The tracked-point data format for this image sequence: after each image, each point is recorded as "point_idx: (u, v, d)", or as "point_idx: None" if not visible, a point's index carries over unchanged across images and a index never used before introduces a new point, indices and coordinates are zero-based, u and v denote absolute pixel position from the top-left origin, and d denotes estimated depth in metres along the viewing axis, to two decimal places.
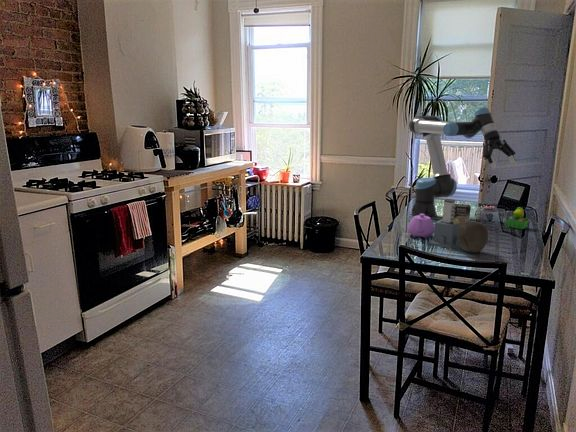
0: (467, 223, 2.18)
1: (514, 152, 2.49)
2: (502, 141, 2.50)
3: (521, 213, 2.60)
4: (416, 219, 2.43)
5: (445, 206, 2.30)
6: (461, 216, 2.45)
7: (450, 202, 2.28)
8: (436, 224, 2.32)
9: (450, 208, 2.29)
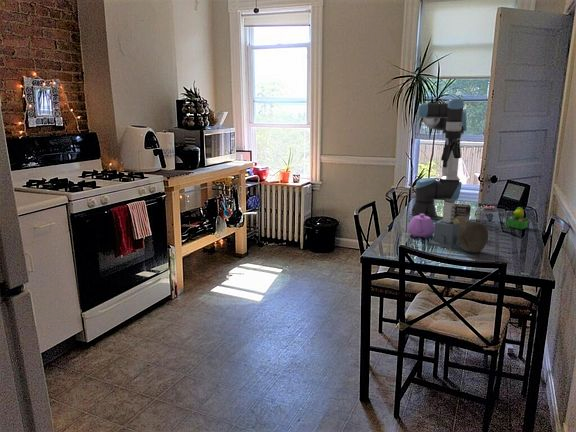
0: (467, 223, 2.18)
1: (460, 155, 2.42)
2: (457, 140, 2.37)
3: (521, 213, 2.60)
4: (416, 219, 2.43)
5: (445, 206, 2.30)
6: (461, 216, 2.45)
7: (450, 202, 2.28)
8: (436, 224, 2.32)
9: (450, 208, 2.29)
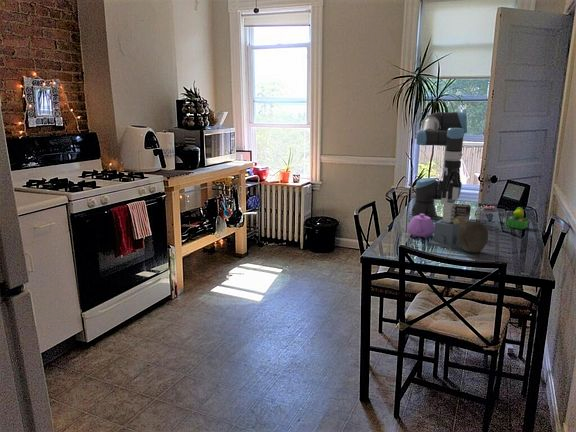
0: (467, 223, 2.18)
1: (460, 183, 2.34)
2: (457, 170, 2.30)
3: (521, 213, 2.60)
4: (416, 219, 2.43)
5: (445, 206, 2.30)
6: (461, 216, 2.45)
7: (450, 202, 2.28)
8: (436, 224, 2.32)
9: (450, 208, 2.29)
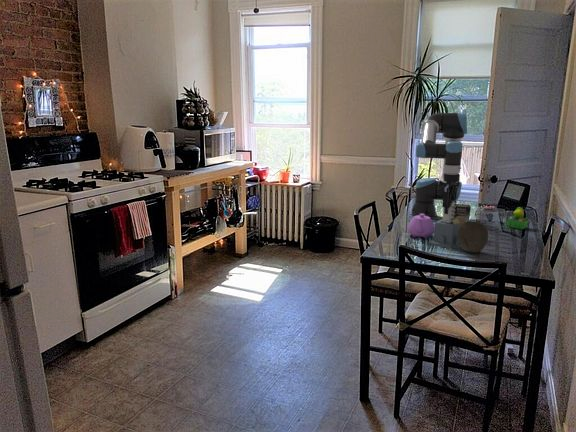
0: (467, 223, 2.18)
1: (455, 202, 2.33)
2: (455, 185, 2.32)
3: (521, 213, 2.60)
4: (416, 219, 2.43)
5: None
6: (461, 216, 2.45)
7: (450, 202, 2.28)
8: (436, 224, 2.32)
9: (450, 208, 2.29)
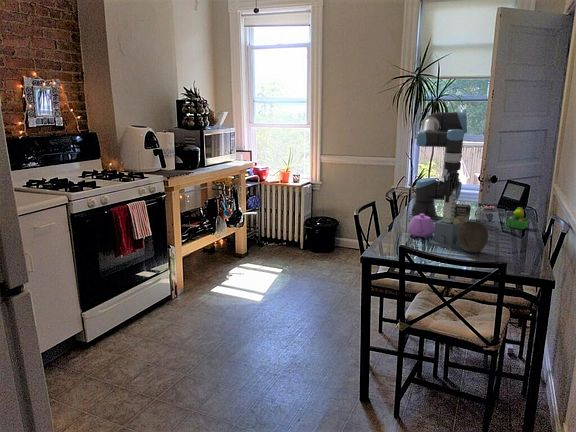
0: (467, 223, 2.18)
1: (456, 190, 2.32)
2: (456, 173, 2.30)
3: (521, 213, 2.60)
4: (416, 219, 2.43)
5: None
6: (461, 216, 2.45)
7: (451, 190, 2.26)
8: (436, 224, 2.32)
9: (451, 196, 2.27)
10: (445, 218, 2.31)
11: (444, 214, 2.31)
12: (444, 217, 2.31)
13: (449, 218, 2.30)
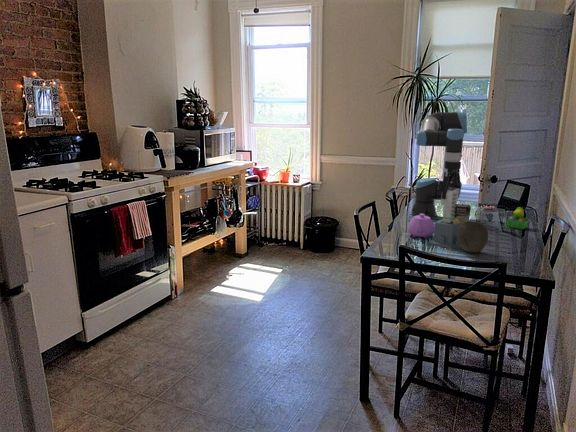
0: (467, 223, 2.18)
1: (460, 184, 2.35)
2: (457, 170, 2.30)
3: (521, 213, 2.60)
4: (416, 219, 2.43)
5: None
6: (461, 216, 2.45)
7: (451, 190, 2.26)
8: (436, 224, 2.32)
9: (451, 196, 2.27)
10: (445, 217, 2.31)
11: (444, 213, 2.31)
12: (444, 216, 2.31)
13: (449, 217, 2.30)
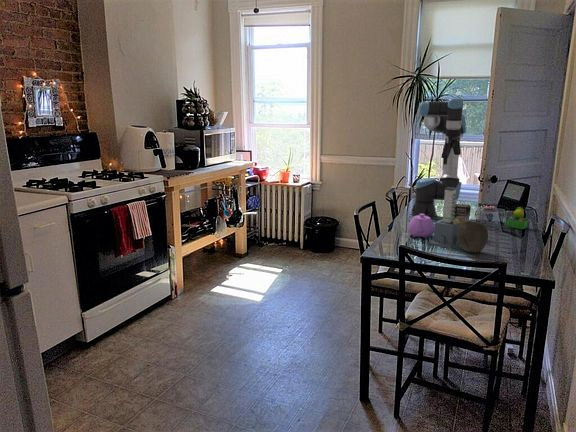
0: (467, 223, 2.18)
1: (460, 151, 2.52)
2: (457, 138, 2.47)
3: (521, 213, 2.60)
4: (416, 219, 2.43)
5: (446, 194, 2.28)
6: (461, 216, 2.45)
7: (451, 190, 2.26)
8: (436, 224, 2.32)
9: (451, 196, 2.27)
10: (445, 217, 2.31)
11: (444, 213, 2.31)
12: (444, 216, 2.31)
13: (449, 217, 2.30)
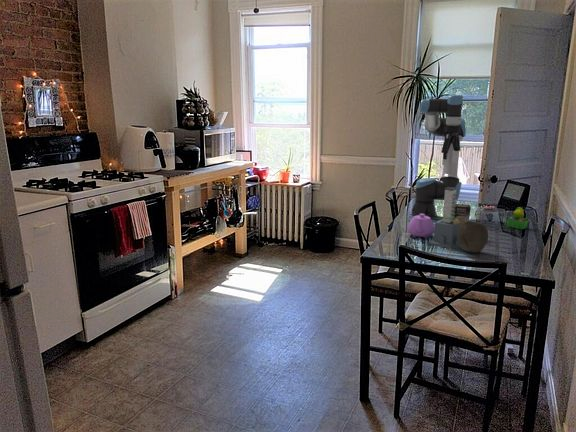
0: (467, 223, 2.18)
1: (459, 147, 2.58)
2: None
3: (521, 213, 2.60)
4: (416, 219, 2.43)
5: (446, 194, 2.28)
6: (460, 216, 2.45)
7: (451, 190, 2.26)
8: (436, 224, 2.32)
9: (451, 196, 2.27)
10: (445, 217, 2.31)
11: (444, 213, 2.31)
12: (444, 216, 2.31)
13: (449, 217, 2.30)
